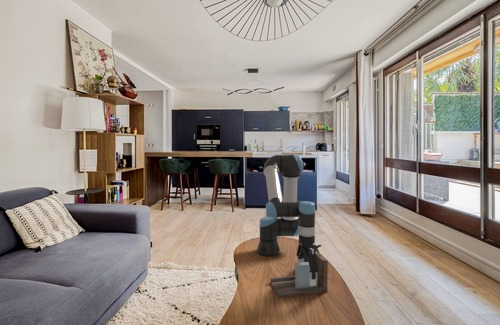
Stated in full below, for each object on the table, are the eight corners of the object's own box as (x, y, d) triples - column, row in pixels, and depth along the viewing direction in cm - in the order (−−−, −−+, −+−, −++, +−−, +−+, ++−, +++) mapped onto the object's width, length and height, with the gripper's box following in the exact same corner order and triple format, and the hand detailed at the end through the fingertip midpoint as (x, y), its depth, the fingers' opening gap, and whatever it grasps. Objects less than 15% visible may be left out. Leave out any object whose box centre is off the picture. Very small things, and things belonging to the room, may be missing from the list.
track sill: (270, 282, 134) (270, 253, 134) (314, 278, 139) (314, 249, 138) (278, 297, 120) (278, 265, 120) (327, 291, 125) (327, 260, 125)
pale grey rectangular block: (295, 287, 127) (295, 263, 127) (314, 285, 129) (314, 261, 129) (297, 290, 124) (297, 265, 124) (317, 288, 126) (317, 263, 126)
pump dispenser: (321, 274, 143) (322, 246, 143) (302, 272, 145) (302, 245, 145) (320, 266, 153) (320, 240, 153) (302, 264, 155) (302, 239, 155)
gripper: (290, 227, 137) (290, 267, 138) (310, 244, 113) (310, 292, 114) (303, 226, 139) (303, 266, 140) (326, 242, 114) (326, 290, 115)
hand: (306, 278), depth 127 cm, fingers open, 13 cm apart
